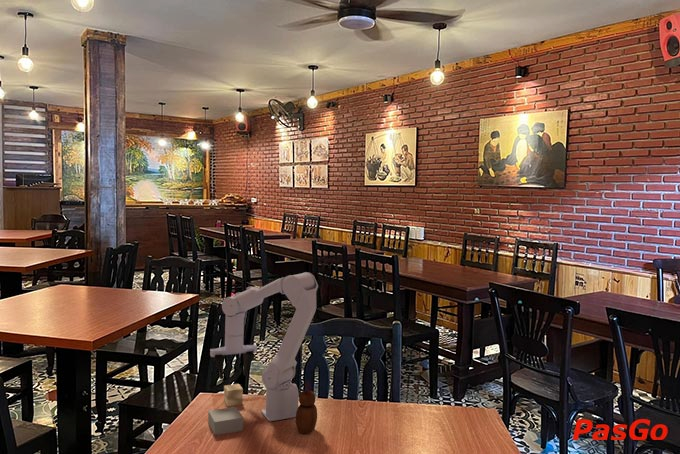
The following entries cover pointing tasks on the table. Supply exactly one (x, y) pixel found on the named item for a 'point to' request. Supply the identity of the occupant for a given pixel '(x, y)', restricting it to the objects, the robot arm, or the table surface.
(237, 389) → the maple cube
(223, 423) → the slate base block
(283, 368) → the robot arm
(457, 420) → the table surface
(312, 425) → the wooden figurine
